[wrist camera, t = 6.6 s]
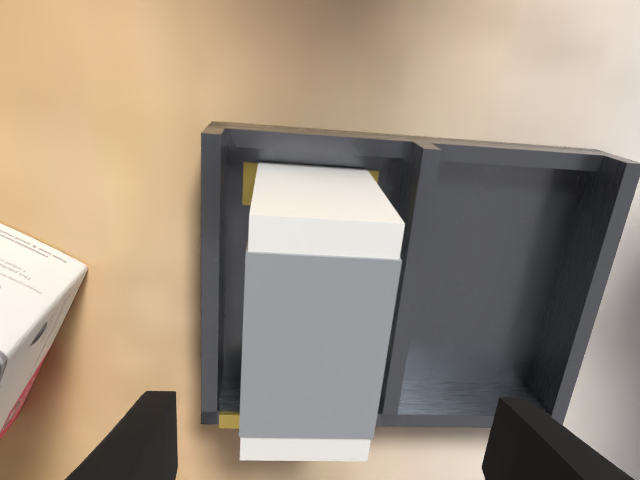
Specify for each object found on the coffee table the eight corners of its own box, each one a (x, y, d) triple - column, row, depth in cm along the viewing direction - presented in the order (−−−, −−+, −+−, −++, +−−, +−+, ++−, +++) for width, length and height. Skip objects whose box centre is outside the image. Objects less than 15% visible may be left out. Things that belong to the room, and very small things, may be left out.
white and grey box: (368, 169, 18) (407, 225, 13) (345, 352, 21) (369, 463, 16) (257, 161, 18) (247, 215, 12) (248, 349, 21) (238, 462, 15)
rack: (595, 149, 20) (647, 165, 17) (530, 387, 23) (563, 432, 21) (212, 121, 18) (200, 133, 15) (210, 381, 22) (200, 428, 19)
